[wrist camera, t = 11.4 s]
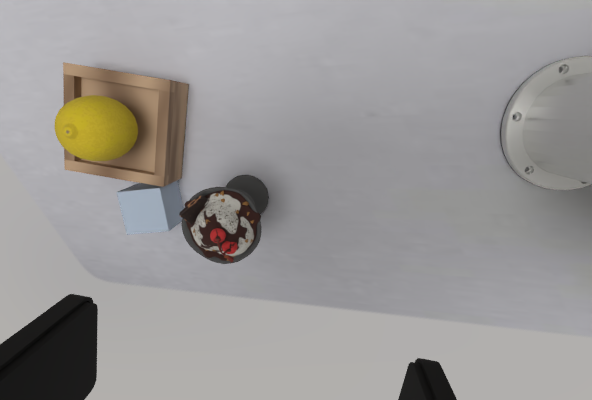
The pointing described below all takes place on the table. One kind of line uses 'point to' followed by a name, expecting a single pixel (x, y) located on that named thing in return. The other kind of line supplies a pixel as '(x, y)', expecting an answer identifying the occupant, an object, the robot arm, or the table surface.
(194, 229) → the sundae
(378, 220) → the table surface
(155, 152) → the wooden open box
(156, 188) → the slate cube
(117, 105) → the lemon
